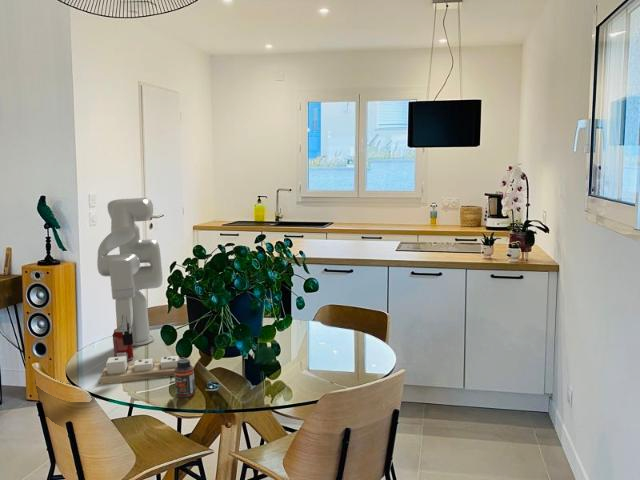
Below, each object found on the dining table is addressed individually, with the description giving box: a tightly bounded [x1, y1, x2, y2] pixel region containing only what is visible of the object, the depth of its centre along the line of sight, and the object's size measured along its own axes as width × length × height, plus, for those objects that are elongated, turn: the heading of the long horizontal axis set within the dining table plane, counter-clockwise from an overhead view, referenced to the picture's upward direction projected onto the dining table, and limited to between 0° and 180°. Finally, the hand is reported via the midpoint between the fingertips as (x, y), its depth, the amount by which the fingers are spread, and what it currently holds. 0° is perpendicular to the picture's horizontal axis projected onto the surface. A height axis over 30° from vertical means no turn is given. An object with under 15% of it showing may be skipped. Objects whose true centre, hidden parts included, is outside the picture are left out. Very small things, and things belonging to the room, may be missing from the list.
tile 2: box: [134, 357, 154, 372], centre depth 217 cm, size 6×6×4 cm
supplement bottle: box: [174, 358, 196, 399], centre depth 194 cm, size 6×6×11 cm
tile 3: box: [160, 355, 180, 369], centre depth 218 cm, size 6×6×4 cm
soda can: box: [112, 327, 134, 362], centre depth 232 cm, size 7×7×12 cm
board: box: [99, 357, 181, 385], centre depth 217 cm, size 13×28×2 cm, turn 101°
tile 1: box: [105, 356, 128, 374], centre depth 215 cm, size 6×6×4 cm
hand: (128, 344), depth 215 cm, fingers closed
